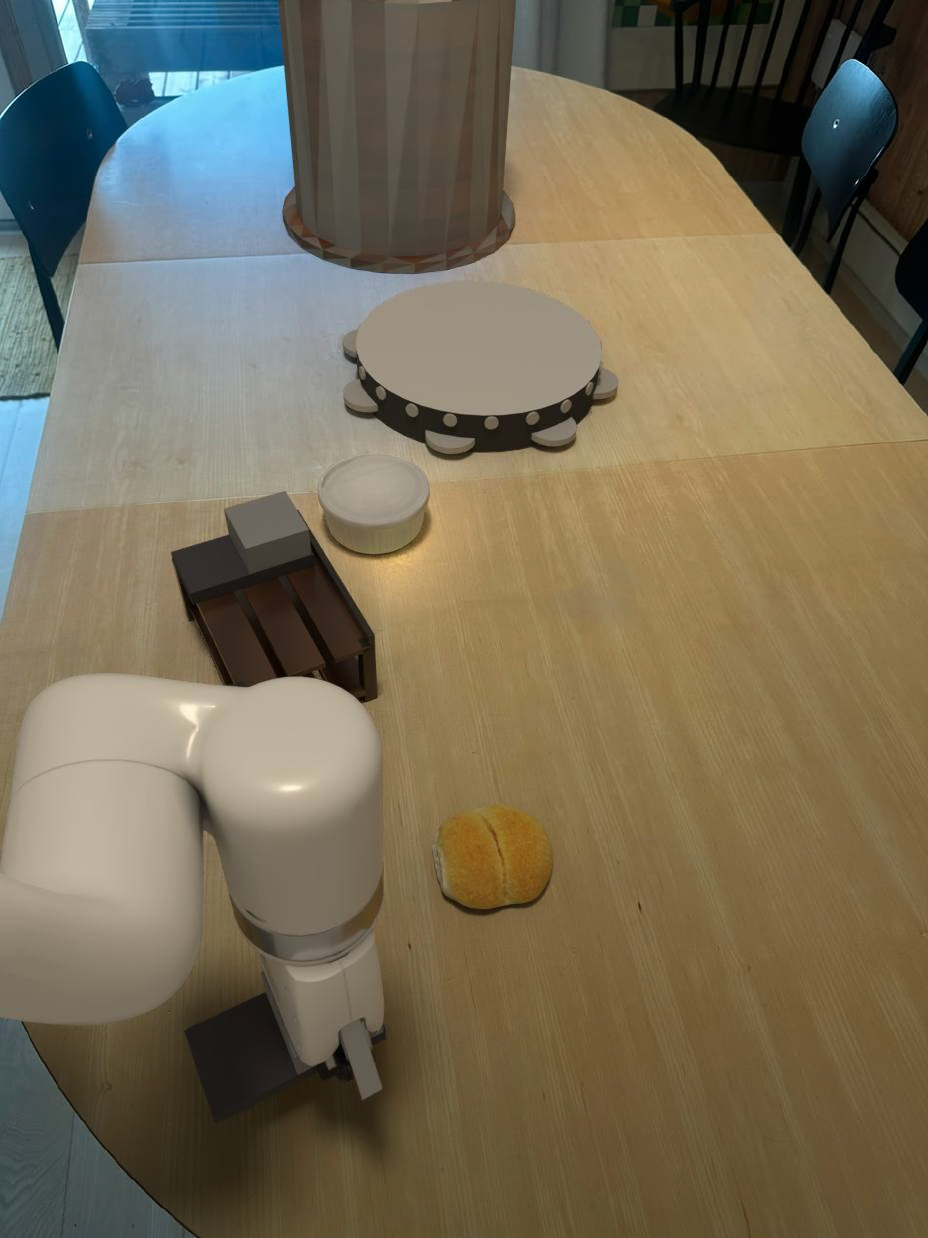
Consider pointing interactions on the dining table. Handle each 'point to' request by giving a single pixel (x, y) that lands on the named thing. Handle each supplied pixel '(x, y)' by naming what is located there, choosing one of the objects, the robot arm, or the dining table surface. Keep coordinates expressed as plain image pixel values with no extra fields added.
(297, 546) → the grey block
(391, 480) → the ramekin
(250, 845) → the robot arm
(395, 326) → the tambourine
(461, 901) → the bread roll
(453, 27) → the storage basket
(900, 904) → the dining table surface
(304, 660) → the rack
